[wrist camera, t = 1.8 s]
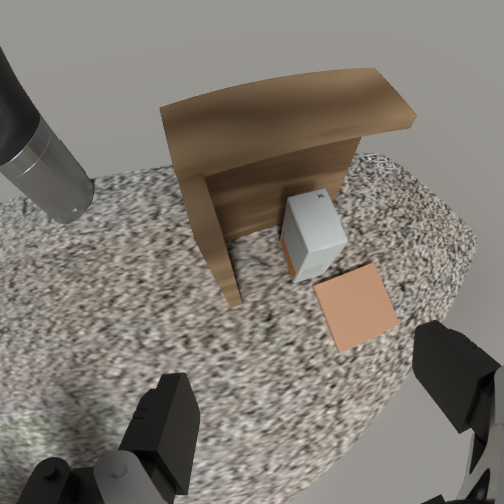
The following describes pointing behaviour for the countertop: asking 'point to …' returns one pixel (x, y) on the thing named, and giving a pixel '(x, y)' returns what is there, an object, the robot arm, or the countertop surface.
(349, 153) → the walnut cubby
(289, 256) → the skincare box
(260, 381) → the countertop surface
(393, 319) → the terracotta tile
